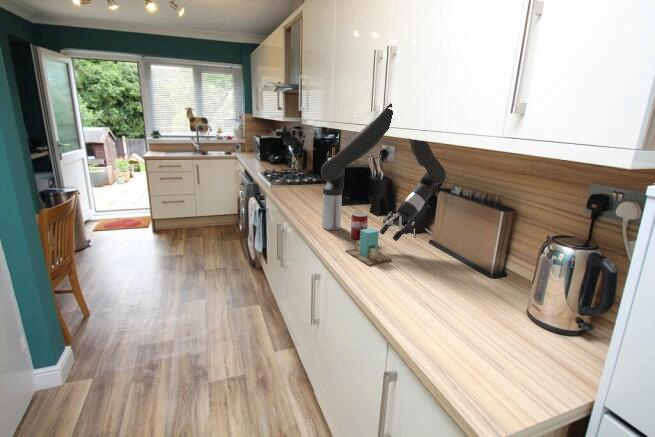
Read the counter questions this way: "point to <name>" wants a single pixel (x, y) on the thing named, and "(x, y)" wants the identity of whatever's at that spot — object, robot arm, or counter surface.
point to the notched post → (368, 240)
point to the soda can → (358, 225)
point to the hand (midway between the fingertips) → (387, 236)
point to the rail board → (369, 255)
